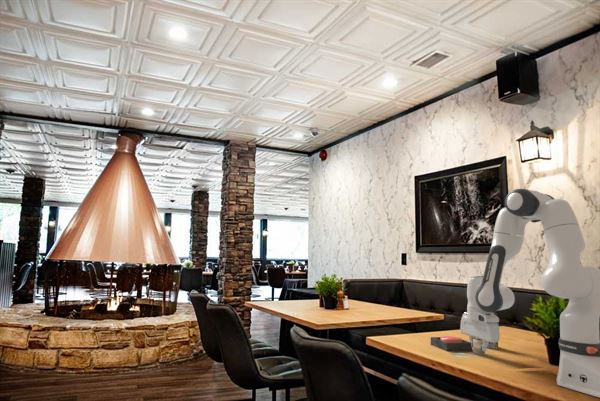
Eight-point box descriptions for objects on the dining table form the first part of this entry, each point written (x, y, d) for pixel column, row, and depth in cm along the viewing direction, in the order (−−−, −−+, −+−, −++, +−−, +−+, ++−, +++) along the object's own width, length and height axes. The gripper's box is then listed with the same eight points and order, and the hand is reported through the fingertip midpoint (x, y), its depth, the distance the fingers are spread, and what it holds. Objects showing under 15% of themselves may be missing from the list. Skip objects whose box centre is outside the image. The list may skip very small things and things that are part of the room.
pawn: (486, 355, 170) (486, 340, 170) (476, 355, 169) (476, 340, 170) (481, 353, 174) (480, 338, 175) (471, 353, 174) (470, 338, 174)
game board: (495, 360, 167) (495, 349, 167) (461, 361, 163) (461, 349, 163) (458, 346, 190) (458, 336, 191) (427, 347, 186) (427, 337, 187)
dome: (466, 349, 179) (466, 340, 180) (448, 350, 177) (448, 340, 178) (453, 345, 188) (453, 336, 188) (436, 345, 186) (436, 336, 186)
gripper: (456, 311, 183) (456, 343, 181) (488, 318, 163) (489, 355, 161) (468, 311, 184) (469, 343, 183) (502, 318, 165) (502, 355, 163)
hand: (478, 349), depth 172 cm, fingers closed on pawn, 4 cm apart
